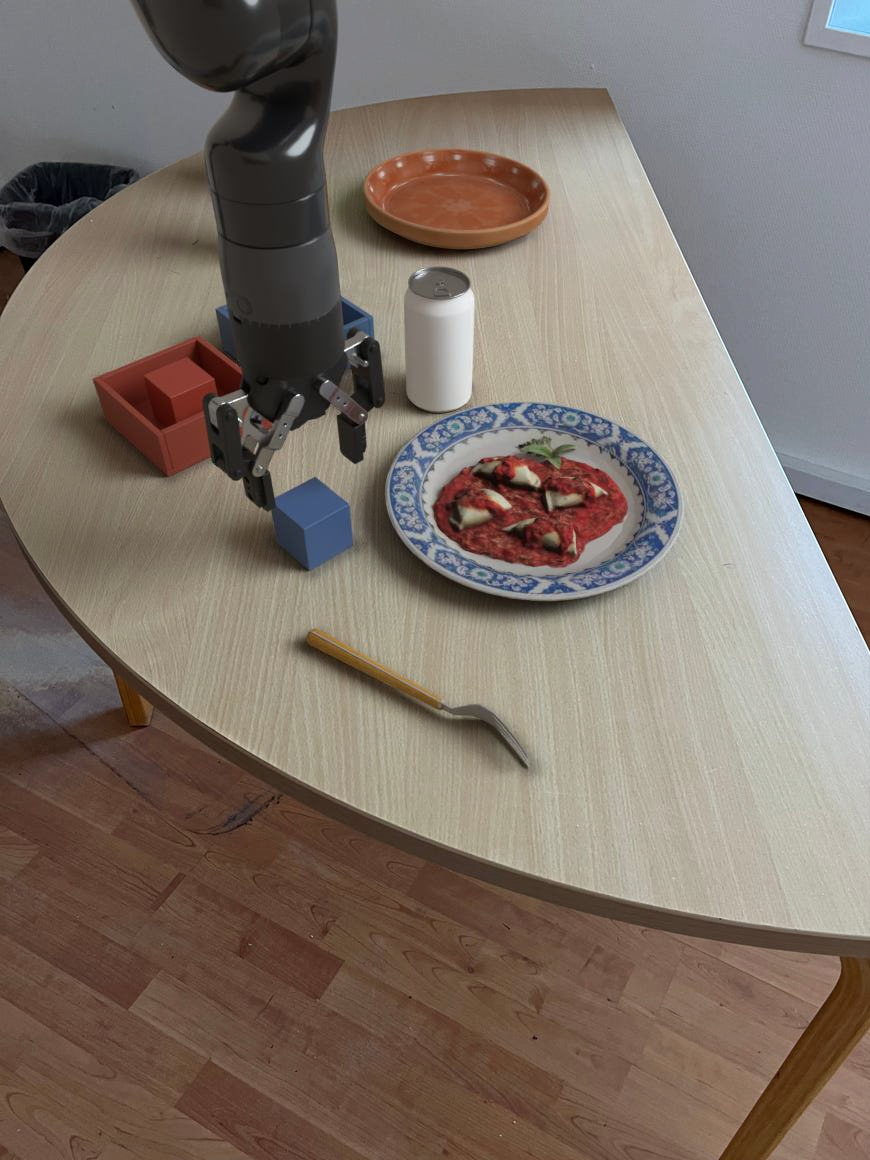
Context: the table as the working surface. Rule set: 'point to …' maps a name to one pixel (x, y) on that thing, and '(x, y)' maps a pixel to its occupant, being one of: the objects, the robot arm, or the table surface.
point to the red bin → (134, 413)
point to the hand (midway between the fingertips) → (309, 481)
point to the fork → (404, 683)
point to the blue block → (312, 523)
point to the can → (439, 339)
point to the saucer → (456, 197)
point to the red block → (178, 391)
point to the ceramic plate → (534, 501)
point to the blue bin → (351, 319)
